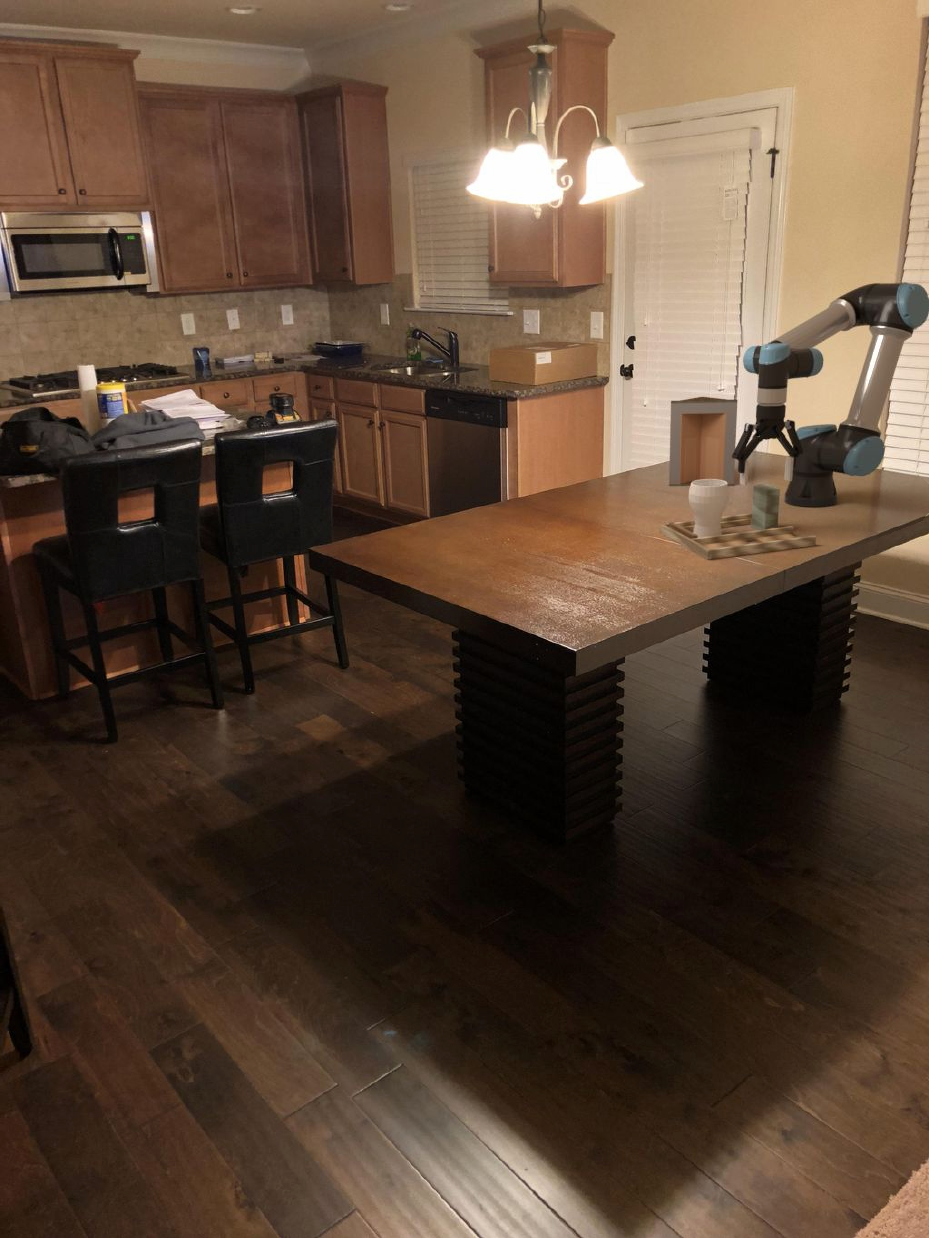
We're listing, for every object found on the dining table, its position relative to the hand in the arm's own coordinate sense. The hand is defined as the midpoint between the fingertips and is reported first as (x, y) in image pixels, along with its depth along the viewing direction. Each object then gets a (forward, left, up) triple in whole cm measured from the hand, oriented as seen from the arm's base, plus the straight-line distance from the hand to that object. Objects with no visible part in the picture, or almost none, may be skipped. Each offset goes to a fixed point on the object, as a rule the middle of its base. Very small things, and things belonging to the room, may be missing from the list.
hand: (765, 482), depth 267 cm
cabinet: (-12, -60, -14) cm, 63 cm away
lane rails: (+11, +5, -13) cm, 18 cm away
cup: (+17, 0, -14) cm, 22 cm away
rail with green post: (+12, 0, -13) cm, 18 cm away
